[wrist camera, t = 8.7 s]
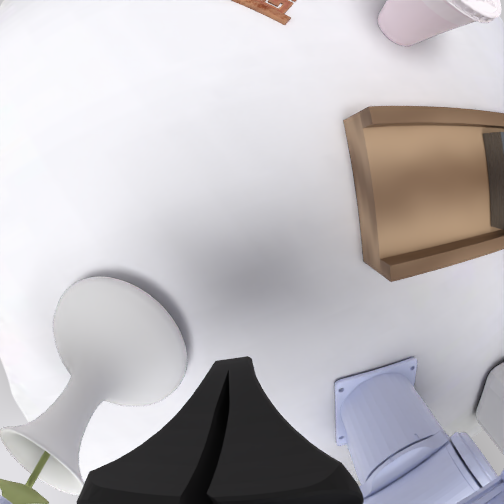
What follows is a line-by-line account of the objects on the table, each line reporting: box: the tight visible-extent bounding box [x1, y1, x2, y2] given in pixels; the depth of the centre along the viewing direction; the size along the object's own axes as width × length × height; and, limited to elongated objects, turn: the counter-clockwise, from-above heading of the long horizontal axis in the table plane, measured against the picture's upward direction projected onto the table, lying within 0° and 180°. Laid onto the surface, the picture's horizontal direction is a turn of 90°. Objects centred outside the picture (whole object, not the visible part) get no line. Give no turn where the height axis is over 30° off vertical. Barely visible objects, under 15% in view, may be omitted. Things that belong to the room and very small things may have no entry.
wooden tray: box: [344, 106, 504, 282], centre depth 17 cm, size 10×20×4 cm, turn 101°
